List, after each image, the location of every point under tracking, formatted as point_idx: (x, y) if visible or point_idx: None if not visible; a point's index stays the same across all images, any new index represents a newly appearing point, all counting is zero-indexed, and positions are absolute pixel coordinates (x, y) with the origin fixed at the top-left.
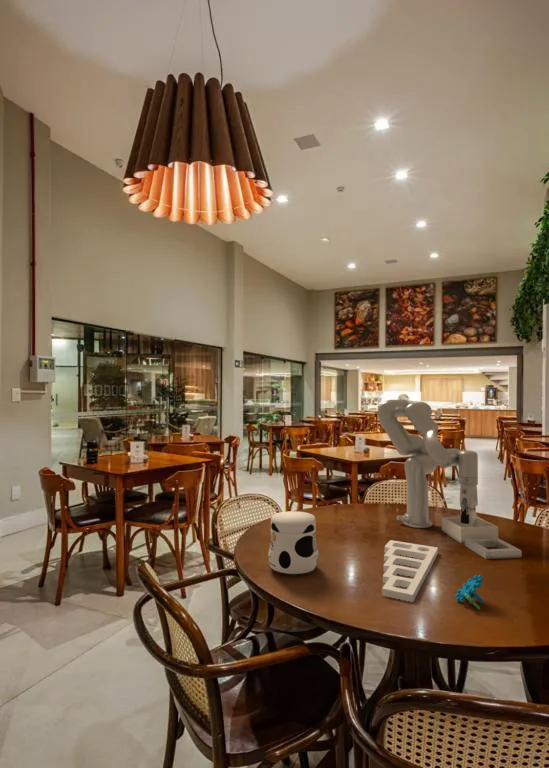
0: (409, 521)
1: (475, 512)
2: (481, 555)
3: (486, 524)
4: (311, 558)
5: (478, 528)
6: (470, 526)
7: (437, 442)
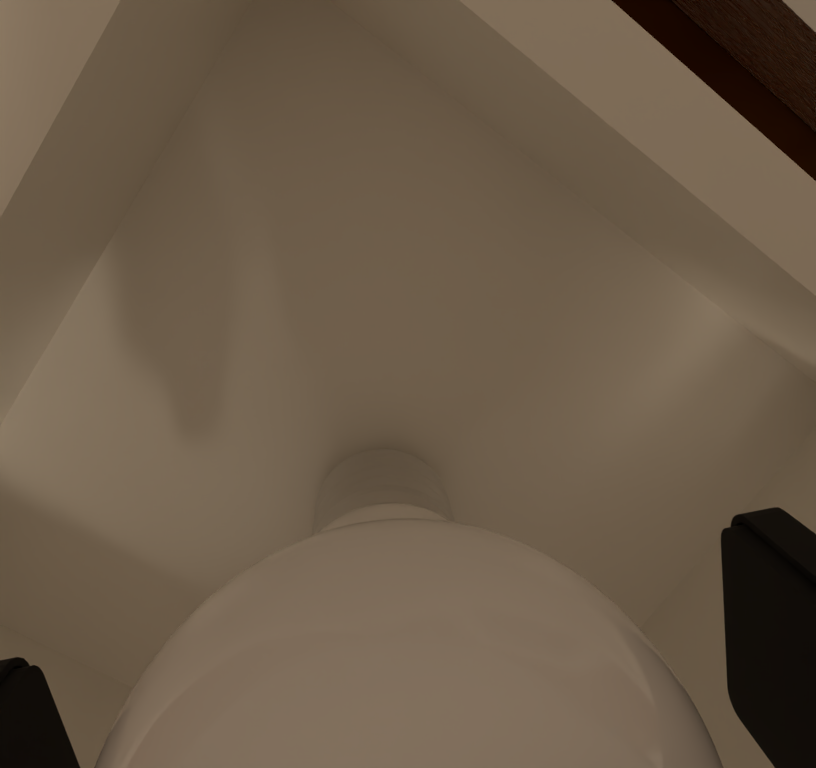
0: None
1: (331, 734)
2: None
3: (5, 261)
4: None
5: (792, 179)
6: (444, 520)
7: None
